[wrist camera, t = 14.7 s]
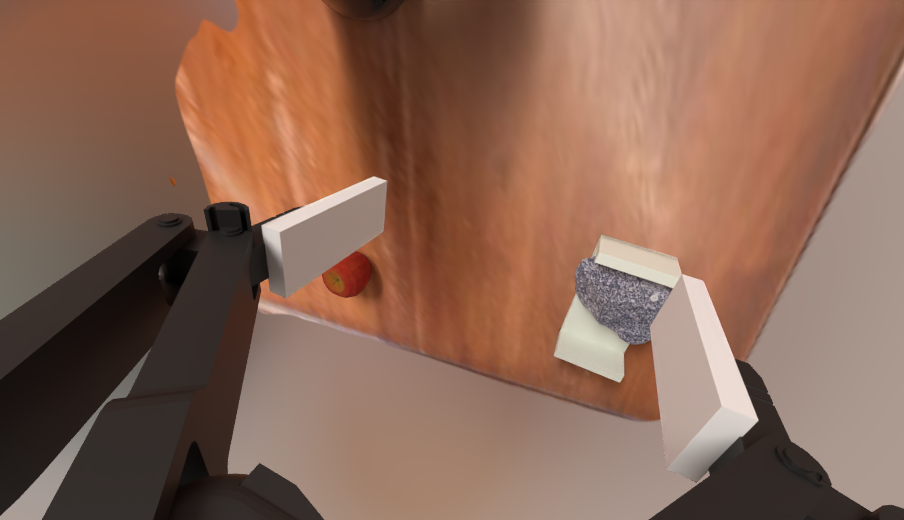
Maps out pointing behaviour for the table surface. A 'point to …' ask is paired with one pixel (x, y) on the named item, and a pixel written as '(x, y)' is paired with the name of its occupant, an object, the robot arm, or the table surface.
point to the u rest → (597, 342)
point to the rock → (620, 299)
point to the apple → (348, 275)
